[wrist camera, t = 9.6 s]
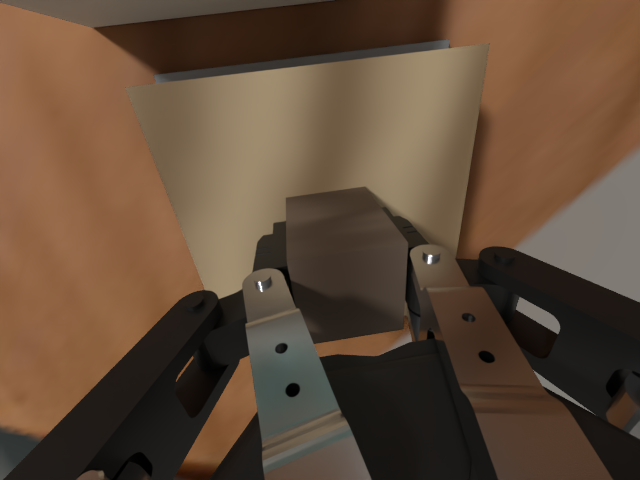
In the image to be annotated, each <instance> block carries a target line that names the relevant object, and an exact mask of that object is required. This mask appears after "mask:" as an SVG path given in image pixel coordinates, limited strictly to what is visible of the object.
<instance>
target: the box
mask: <svg viewBox="0 0 640 480" xmlns="http://www.w3.org/2000/svg"><path fill="white" fill-rule="evenodd" d="M324 1H333V0H0V3H4V4H8V5H11V6H15V7H18V8H22V9H26V10H29V11H33V12H37V13H40V14H44V15H48V16H51V17H55V18H59V19H62V20H66V21H69V22H73V23H77V24H80V25H84V26H88V27H91V28H94V27H103V26H112V25H120V24H129V23H138V22H147V21H156V20H165V19H174V18H182V17H191V16H200V15H209V14H218V13H227V12H236V11H245V10H253V9H262V8H271V7H280V6H289V5H298V4H307V3H315V2H324Z"/></svg>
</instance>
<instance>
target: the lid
mask: <svg viewBox="0 0 640 480" xmlns="http://www.w3.org/2000/svg"><path fill="white" fill-rule="evenodd" d="M489 45H490V43H489V44H481V45H472V46H464V47H456V48H447V49H439V50H431V51H422V52H414V53H406V54H398V55H389V56H381V57H373V58H364V59H356V60H348V61H339V62H331V63H323V64H315V65H306V66H298V67H290V68H281V69H273V70H265V71H256V72H248V73H240V74H231V75H223V76H215V77H207V78H198V79H190V80H182V81H173V82H165V83H157V84H148V85H140V86H132V87H125V88H126V91H127V93H128V96H129V98H130V101H131V103H132V106H133V109H134V111H135V114H136V116H137V119H138V121H139V124H140V126H141V129H142V131H143V134H144V136H145V139H146V141H147V144H148V147H149V149H150V152H151V154H152V157H153V159H154V162H155V164H156V167H157V169H158V172H159V174H160V177H161V179H162V182H163V185H164V187H165V190H166V192H167V195H168V197H169V200H170V202H171V205H172V207H173V210H174V212H175V215H176V217H177V220H178V223H179V225H180V228H181V230H182V233H183V235H184V238H185V240H186V243H187V245H188V248H189V250H190V253H191V255H192V258H193V260H194V263H195V266H196V268H197V271H198V273H199V276H200V278H201V281H202V283H203V286H204V288H205V290H209V291H213V292H215V293H216V294H217V296H218V298H219V299H220V298H223V297H226V296H228V295H231V294H234V293H236V292H238V291H240V290H241V289H242V283H243V281H244V279H245V278H246V277H247V276H248V275H250V274H251V273H252V271H253V265H254V259H255V253H256V246H257V242H258V241H259V239H260V238H261V237H262V236H263V235H269V234H273V223H275V222H282V221H286V251H287V265H288V270H289V275H290V280H291V285H292V290H293V296H294V301H295V306H296V307H298V308H299V309H300V311H301V314H302V316H303V319H304V321H305V324H306V326H307V329H308V331H309V334H310V336H311V339H312V341H313V344H316V343H322V342H328V341H335V340H341V339H347V338H353V337H359V336H365V335H371V334H377V333H383V332H389V331H395V330H402V329H403V327H404V316H407V314H406V310H407V303H406V301H405V291H406V274H407V256H408V242H407V240H406V239H405V238H404V237H403V235H402V234H401V233H400V231H399V230H398V229H397V227H396V226H395V225H394V224H393V222H392V221H391V220H390V218H389V217H388V216H387V214H386V213H385V212H384V211H383V209H382V208H381V207H386V208H387V209H388V210H389V211H390V212H391V214H392V215H393V216H401V217H403V218H405V219H407V220H408V221H409V222H410V223H411V224H412V225H413V227H415V228H416V230H417V232H419V233H420V234H421V235H422V236H423V237H424V239H425V240H426V241H427V242H428V243H429V244H430V245H438V246H441V247H444V248H446V249H448V250H449V251H450V252H451V253H452V254H453V256H454V258H455V259H456V254H457V248H458V241H459V235H460V229H461V222H462V216H463V210H464V203H465V197H466V191H467V184H468V178H469V172H470V165H471V159H472V153H473V146H474V140H475V134H476V128H477V121H478V115H479V109H480V102H481V96H482V90H483V83H484V77H485V71H486V64H487V58H488V52H489Z"/></svg>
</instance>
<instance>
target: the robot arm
mask: <svg viewBox="0 0 640 480" xmlns="http://www.w3.org/2000/svg"><path fill="white" fill-rule="evenodd" d="M381 208H382V209H383V211H384V212H385V213H386V214H387V216H388V217H389V218H390V220H391V221H392V222H393V224H394V225H395V226H396V227H397V229H398V230H399V231H400V233H401V234H402V235H403V237H404V238H405V239H406V240H407V242H408V256H407V274H406V291H405V301H406V303H407V310H406V314H407V319H408V323H409V328H410V333H411V337H412V342H410V343H407V344H405V345H403V346H400V347H398V348H396V349H393V350H391V351H389V352H386V353H384V354H382V355H379V356H357V355H339V354H337V355H331V356H325V357H319V356H318V354H317V351H316V349H315V346H314V344H313V341H312V339H311V336H310V334H309V331H308V329H307V326H306V324H305V321H304V319H303V316H302V314H301V311H300V309H299V308H298V307H296V306H295V301H294V296H293V290H292V285H291V280H290V275H289V270H288V265H287V251H286V221H282V222H275V223H273V234H269V235H263V236H262V237H261V238H260V239H259V241H258V242H257V246H256V253H255V259H254V265H253V271H252V273H251V274H250V275H248V276H247V277H246V278H245V279H244V281H243V283H242V289H241V290H240V291H238V292H236V293H234V294H231V295H228V296H226V297H223V298H220V299H219V298H218V296H217V294H216V293H215V292H213V291H209V290H202V291H197V292H193V293H191V294H189V295H187V296H185V297H183V298H182V299H180V300H179V301H178V302H177V303H176V304H175V305H174V306H173V307H172V308H171V309H170V310H169V311H168V312H167V313H166V314H165V315H164V316H163V317H162V318H161V319H160V320H159V321H158V322H157V323H156V324H155V325H154V326H153V327H152V328H151V329H150V330H149V331H148V332H147V334H146V335H145V336H144V337H143V338H142V339H141V340H140V341H139V342H138V343H137V344H136V345H135V346H134V347H133V348H132V349H131V350H130V351H129V352H128V353H127V354H126V355H125V356H124V357H123V358H122V359H121V360H120V361H119V362H118V363H117V364H116V365H115V366H114V367H113V368H112V369H111V370H110V371H109V372H108V373H107V374H106V375H105V376H104V377H103V378H102V379H101V380H100V381H99V382H98V384H97V385H96V386H95V387H94V388H93V389H92V390H91V391H90V392H89V393H88V394H87V395H86V396H85V397H84V398H83V399H82V400H81V401H80V402H79V403H78V404H77V405H76V406H75V407H74V408H73V409H72V410H71V411H70V412H69V413H68V414H67V415H66V416H65V417H64V418H63V419H62V420H61V421H60V422H59V423H58V424H57V425H56V426H55V427H54V428H53V429H52V430H51V431H50V433H49V434H48V435H47V436H46V437H45V438H44V439H43V440H42V441H41V442H40V443H39V444H38V445H37V446H36V447H35V448H34V449H33V450H32V451H31V452H30V453H29V454H28V455H27V456H26V457H25V458H24V459H23V460H22V461H21V462H20V463H19V464H18V465H17V466H16V467H15V468H14V469H13V470H12V471H11V472H10V473H9V474H8V475H7V477H6V478H4V479H3V480H173V478H174V477H175V475H176V473H177V471H178V470H179V468H180V466H181V464H182V463H183V461H184V459H185V457H186V456H187V454H188V452H189V450H190V449H191V447H192V445H193V443H194V442H195V440H196V438H197V436H198V435H199V433H200V431H201V429H202V428H203V426H204V424H205V422H206V421H207V419H208V417H209V415H210V414H211V412H212V410H213V408H214V407H215V405H216V403H217V401H218V400H219V398H220V396H221V394H222V393H223V391H224V389H225V387H226V386H227V384H228V382H229V380H230V379H231V377H232V375H233V373H234V371H235V370H236V368H237V366H238V364H239V361H240V359H242V358H244V357H246V356H248V355H250V362H251V369H252V376H253V383H254V389H255V396H256V403H257V410H258V411H257V413H256V414H255V416H254V417H253V418H252V420H251V421H250V423H249V424H248V425H247V427H246V428H245V430H244V431H243V433H242V434H241V435H240V437H239V438H238V440H237V441H236V442H235V444H234V445H233V447H232V448H231V449H230V451H229V452H228V454H227V455H226V456H225V458H224V459H223V461H222V462H221V464H220V465H219V466H218V468H217V469H216V471H215V472H214V473H213V475H212V476H211V478H210V479H209V480H640V302H637V301H635V300H632V299H630V298H628V297H625V296H623V295H620V294H618V293H616V292H614V291H611V290H609V289H606V288H604V287H602V286H599V285H597V284H594V283H592V282H590V281H587V280H585V279H583V278H581V277H578V276H576V275H573V274H571V273H568V272H566V271H564V270H561V269H559V268H557V267H554V266H552V265H550V264H547V263H545V262H543V261H540V260H538V259H536V258H533V257H531V256H528V255H526V254H524V253H521V252H519V251H517V250H514V249H511V248H506V247H488V248H485V249H483V250H482V251H481V252H480V254H479V259H478V260H470V259H455V258H454V256H453V254H452V253H451V252H450V251H449V250H448V249H446V248H444V247H441V246H438V245H430V244H429V243H428V242H427V241H426V240H425V239H424V237H423V236H422V235H421V234H420V233H419V232H417V230H416V228H415V227H413V225H412V224H411V223H410V222H409V221H408V220H407V219H405V218H403V217H401V216H393V215H392V214H391V212H390V211H389V210H388V209H387V208H386V207H381ZM519 297H521V298H523V299H525V300H527V301H529V302H531V303H532V304H534V305H536V306H538V307H540V308H542V309H543V310H545V311H547V312H549V313H551V314H552V315H554V316H555V318H556V319H557V320H558V321H559V324H560V332H559V334H556V333H555V332H553V331H551V330H550V329H548V328H546V327H544V326H542V325H541V324H539V323H537V322H536V321H534V320H532V319H531V318H529V317H527V316H526V315H524V314H522V313H520V312H519V311H517V310H515V309H516V306H517V303H518V300H519ZM192 356H193V360H192V361H191V363H190V364H189V365H188V367H187V368H186V369H185V371H184V372H183V373H182V375H181V376H180V377H179V379H178V380H177V382H176V379H177V377H178V375H179V373H180V372H181V371H182V369H183V368H184V366H185V365H186V364H187V362H188V361H189V360H190V358H191V357H192ZM532 369H533V370H534V371H536V372H537V373H538V374H540V375H541V376H543V377H544V378H545V379H547V380H548V381H549V382H551V383H552V384H554V385H555V386H556V387H558V388H559V389H561V390H562V391H564V392H565V393H566V394H568V395H569V396H570V397H572V398H573V399H575V400H576V401H577V402H579V403H580V404H582V405H583V406H584V407H586V408H587V409H589V410H590V411H591V412H593V413H594V414H595V415H594V414H593V413H591V412H589V411H587V410H585V409H583V408H582V407H580V406H578V405H576V404H574V403H572V402H571V401H569V400H567V399H565V398H563V397H562V396H560V395H558V394H556V393H554V392H552V391H550V390H549V389H547V388H545V387H543V386H542V385H541V383H540V381H539V380H538V378H537V376H536V375H535V373H534V371H533V370H532ZM175 382H176V383H175ZM596 415H597V416H596Z"/></svg>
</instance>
